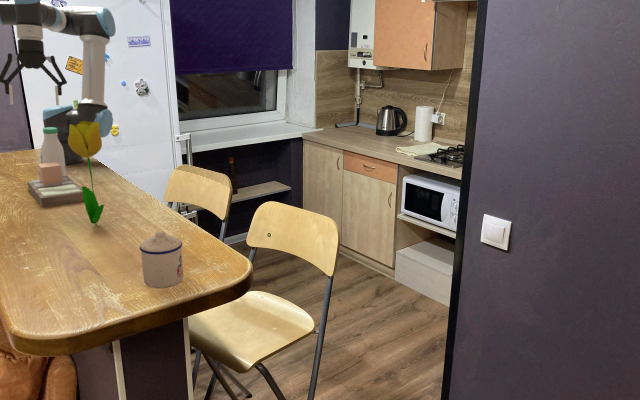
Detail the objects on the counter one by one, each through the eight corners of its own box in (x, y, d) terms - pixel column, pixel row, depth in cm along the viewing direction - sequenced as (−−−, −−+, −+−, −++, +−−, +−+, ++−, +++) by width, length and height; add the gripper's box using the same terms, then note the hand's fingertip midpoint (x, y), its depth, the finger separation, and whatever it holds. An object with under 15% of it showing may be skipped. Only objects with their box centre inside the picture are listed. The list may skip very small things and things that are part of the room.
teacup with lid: (187, 285, 119) (184, 236, 115) (145, 292, 115) (140, 241, 112) (178, 264, 129) (175, 218, 126) (139, 270, 126) (134, 223, 122)
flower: (117, 222, 156) (107, 120, 147) (99, 231, 149) (87, 124, 140) (92, 219, 159) (80, 118, 150) (73, 228, 151) (59, 122, 142)
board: (28, 189, 187) (27, 180, 186) (68, 183, 194) (67, 175, 193) (42, 207, 168) (41, 197, 167) (85, 200, 176) (84, 191, 175)
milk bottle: (71, 181, 198) (66, 127, 192) (56, 186, 191) (51, 131, 185) (53, 178, 199) (48, 125, 193) (38, 183, 192) (32, 128, 186)
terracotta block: (40, 180, 185) (37, 164, 184) (58, 178, 189) (56, 162, 187) (43, 184, 181) (41, 167, 179) (62, 182, 184) (60, 165, 182)
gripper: (-15, 35, 167) (-9, 104, 171) (72, 41, 178) (76, 105, 182) (-13, 37, 174) (-8, 104, 177) (71, 43, 185) (75, 105, 189)
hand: (35, 105), depth 180 cm, fingers open, 13 cm apart
